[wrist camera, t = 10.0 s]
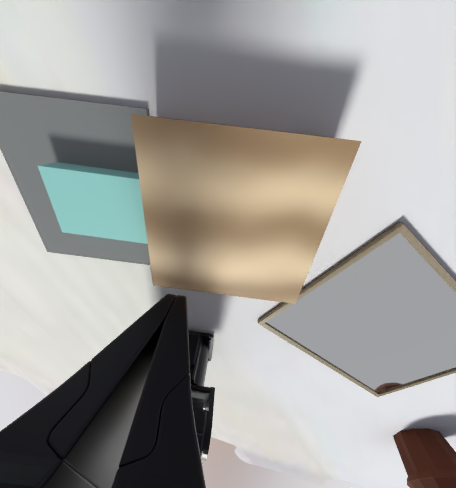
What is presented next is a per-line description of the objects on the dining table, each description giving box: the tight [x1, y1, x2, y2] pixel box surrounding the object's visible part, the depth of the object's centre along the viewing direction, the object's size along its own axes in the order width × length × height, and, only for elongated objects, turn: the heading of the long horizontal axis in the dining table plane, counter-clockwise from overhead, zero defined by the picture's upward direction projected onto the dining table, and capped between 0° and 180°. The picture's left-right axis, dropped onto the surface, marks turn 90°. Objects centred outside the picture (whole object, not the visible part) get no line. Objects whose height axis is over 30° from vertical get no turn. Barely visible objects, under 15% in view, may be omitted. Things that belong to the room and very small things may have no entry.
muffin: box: [393, 429, 456, 488], centre depth 37 cm, size 12×11×10 cm
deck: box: [131, 114, 361, 304], centre depth 17 cm, size 14×14×4 cm
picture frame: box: [258, 222, 456, 397], centre depth 26 cm, size 19×1×28 cm
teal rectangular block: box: [38, 162, 148, 244], centre depth 18 cm, size 6×9×2 cm, turn 84°
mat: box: [0, 91, 150, 265], centre depth 19 cm, size 15×13×1 cm
